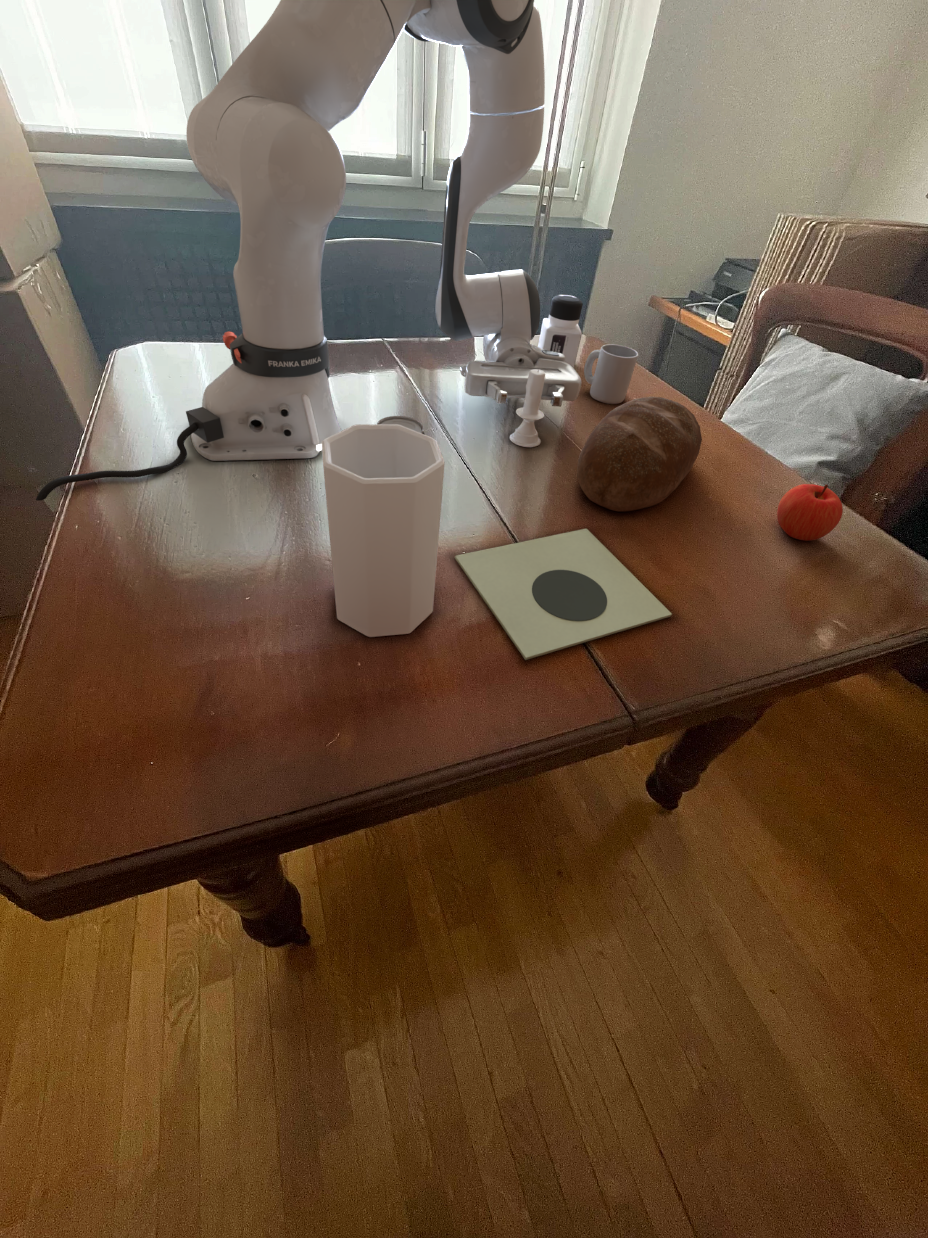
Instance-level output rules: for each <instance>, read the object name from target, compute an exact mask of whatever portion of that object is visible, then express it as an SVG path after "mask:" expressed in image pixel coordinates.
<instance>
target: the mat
mask: <svg viewBox="0 0 928 1238" xmlns="http://www.w3.org/2000/svg"><path fill="white" fill-rule="evenodd" d="M454 559H455V561H456V562H457V564H458V565H459V566H460V568H461V569H462V571H463V572H464V574H465V575H466V576H467V578H468V579H469V581H470V583H471V584H472V585H473V586H474V588H475V589H476V591H477V592H478V594H479V595H480V597H481V598H482V600H483V601H484V603H485V604H486V605H487V607H488V609H489V610H490V611H491V613H492V614H493V615H494V617H495V619H496V620H497V621H498V623H499V625H500V626H501V627H502V629H503V630H504V632H505V633H506V635H507V636H508V637H509V639H510V640H511V642H512V643H513V644H514V646H515V648H516V649H517V651H518V652H519V654H520V655H521V656H522V658H523V659H524V661H528V660H530V659H531V660H532V659H534V658H537V657H541V656H544V655H547V654H551V653H553V652H554V653H555V652H556V651H560V650H561V651H562V650H565V649H567V648H571V647H575V646H577V645H580V644H584V643H587V642H590V641H594V640H597V639H600V638H604V637H606V636H610V635H613V634H617V633H620V632H624V631H627V630H630V629H633V628H638V627H641V626H643V625H647V624H650V623H654V622H657V621H660V620H664V619H667V618H671V617H672V615H673V613H672V612H671V611H670V610H669V609H668V608H667V607H666V606H665V605H664V604H663V603H662V602H661V601H660V600H659V599H658V598H656V596H655V595H654V594H653V593H652V592H651V591H649V589H648V588H647V587H645V585H643V583H642V582H641V581H640V580H638V578H637V577H636V576H635V575H634V574H633V573H632V572H631V571H630V570H629V569H628V568H627V567H626V566H625V565H624V564H622V562H621V561H620V560H618V559H617V557H616V556H615V555H613V553H612V552H611V551H610V550H609V549H608V548H607V547H606V546H605V545H604V544H603V543H602V542H601V541H600V540H598V538H597V537H596V536H595V535H594V534H593V533H592V532H591V531H590V530H589V529H588V528H581V529H577V530H572V531H567V532H563V533H558V534H553V535H548V536H544V537H539V538H534V539H530V540H525V541H519V542H515V543H511V544H510V543H509V544H505V545H501V546H496V547H490V548H485V549H480V550H475V551H471V552H466V553H462V554H457V555H455V556H454Z"/></svg>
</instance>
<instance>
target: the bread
mask: <svg viewBox="0 0 928 1238" xmlns="http://www.w3.org/2000/svg"><path fill="white" fill-rule="evenodd" d="M702 442H703V437H702V431H701V425H700V423H699V422H698V420H697V417H696V416H695V414H694V413H693V412H692V411H690V410H689V409H688V408H687V407H686V406H685V405H683V404H681V403H680V402H678V401H674V400H672V399H670V398H669V399H668V398H665V397H661V396H644V397H641V398H640V397H639V398H638V397H637V398H634V399H631V400H629V401H626V402H624V403H623V404H619V405H618V406H616V407H615V408H613V409H612V410H610V411H609V412H608V413H607V414H605V416H604V417H603V418H602V419H601V420H600V421H599V422H598V423H597V424H596V426H595V427H594V428H593V430H592V431H591V433H590V434H589V436H588V437H587V439H586V440H585V443H584V445H583V447H582V449H581V451H580V453H579V456H578V461H577V466H576V468H577V469H576V477H577V481H578V485H579V487H580V489H581V491H582V492H583V493H584V495H585V496H586V497H587V498H588V500H589V501H591V502H593V503H594V504H596V505H598V506H599V507H602V508H604V509H607V510H610V511H615V512H618V513H619V512H633V511H637V510H642V509H646V508H650V507H653V506H656V505H658V504H660V503H661V502H663V501H665V500H666V499H667V498H669V496H670V495H671V494H672V493H673V492H674V491H675V490H676V489H677V488H678V487H679V485H680V484H681V482H683V480H685V478H686V477H687V475H688V474H689V473H690V471H691V470H692V468H693V466H694V465H695V462H696V460H697V458H698V456H699V454H700V449H701V445H702Z"/></svg>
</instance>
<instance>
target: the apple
mask: <svg viewBox="0 0 928 1238" xmlns="http://www.w3.org/2000/svg"><path fill="white" fill-rule="evenodd" d="M828 487H829V484H824V486H822V485H819V484H811V483H802V484H799V485H795V486H793V487H792V488H790V489H788V491H786V493H784V494H783V496H782V497H781V498H780V501H779V502H778V506H777V509H776V510H777V511H776V518H777V522H778V524H779V527H780V528H781V529H782V530H783V532H785V534H786V535H788V536H789V537H790V538H793V539H796V540H799V541H804V542H805V541H806V542H808V541H816V540H819V539H821V538H823V537H825V536H827V535H828V534H830V533H831V532H832V531H833V530H834V529H835V528H836V527H837V526H838V524H839V523H840V521H841V520H842V517H843V514H844V513H843V512H844V508H843V503H842V501H841V499H840V497H839V496H838V495H837V493H835V492H834V491H833V490H831V489H830V488H828Z"/></svg>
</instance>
